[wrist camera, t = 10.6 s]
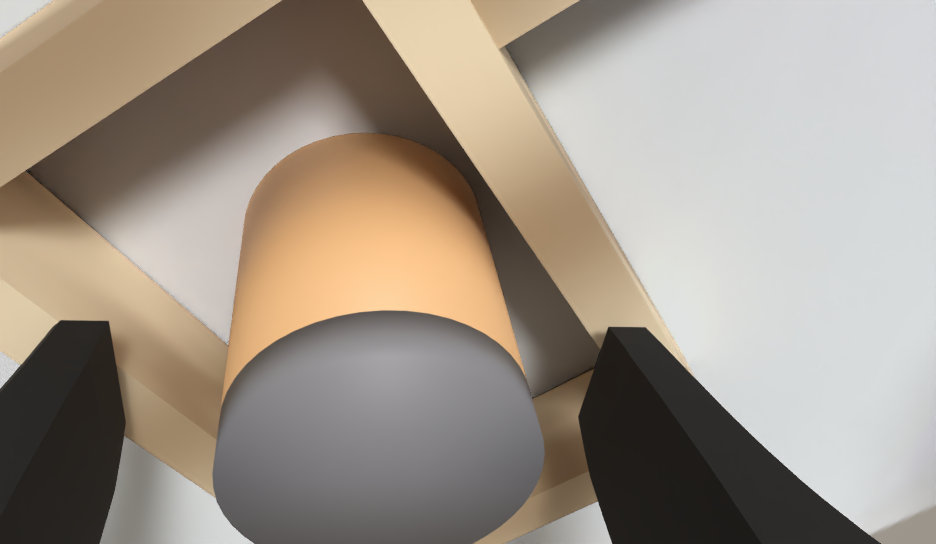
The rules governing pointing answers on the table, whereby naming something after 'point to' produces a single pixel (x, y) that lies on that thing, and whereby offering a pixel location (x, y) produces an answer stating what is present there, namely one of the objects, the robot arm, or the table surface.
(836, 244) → the table surface
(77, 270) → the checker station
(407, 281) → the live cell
